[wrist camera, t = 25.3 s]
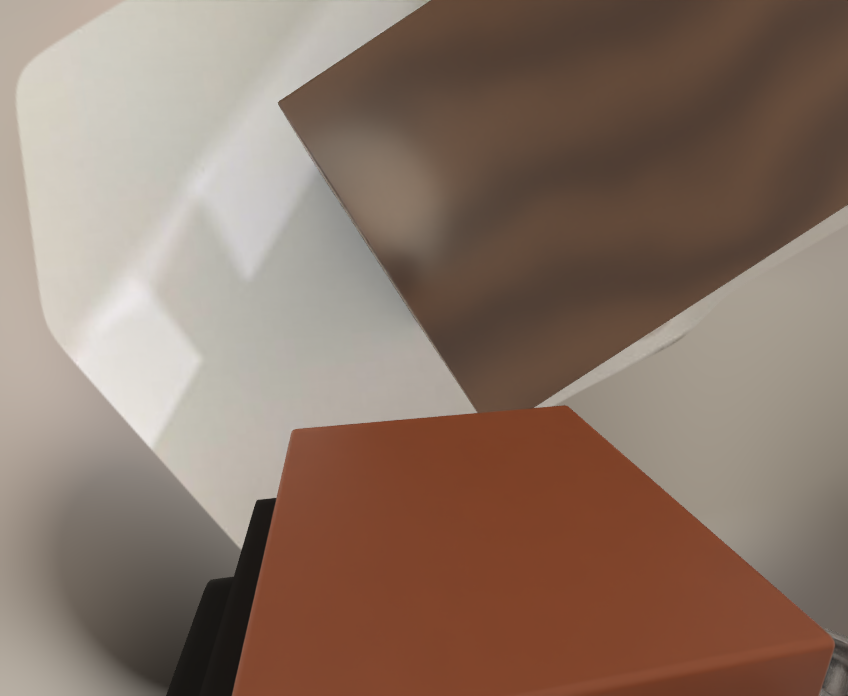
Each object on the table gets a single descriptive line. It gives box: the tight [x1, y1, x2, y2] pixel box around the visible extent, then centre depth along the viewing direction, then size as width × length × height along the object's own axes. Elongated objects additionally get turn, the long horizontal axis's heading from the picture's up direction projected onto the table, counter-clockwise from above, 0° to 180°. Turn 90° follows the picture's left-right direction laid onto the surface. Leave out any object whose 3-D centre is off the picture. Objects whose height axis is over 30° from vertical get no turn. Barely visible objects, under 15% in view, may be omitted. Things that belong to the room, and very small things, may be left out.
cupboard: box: [278, 0, 848, 413], centre depth 32 cm, size 18×26×24 cm
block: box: [232, 406, 835, 696], centre depth 7 cm, size 6×6×6 cm
